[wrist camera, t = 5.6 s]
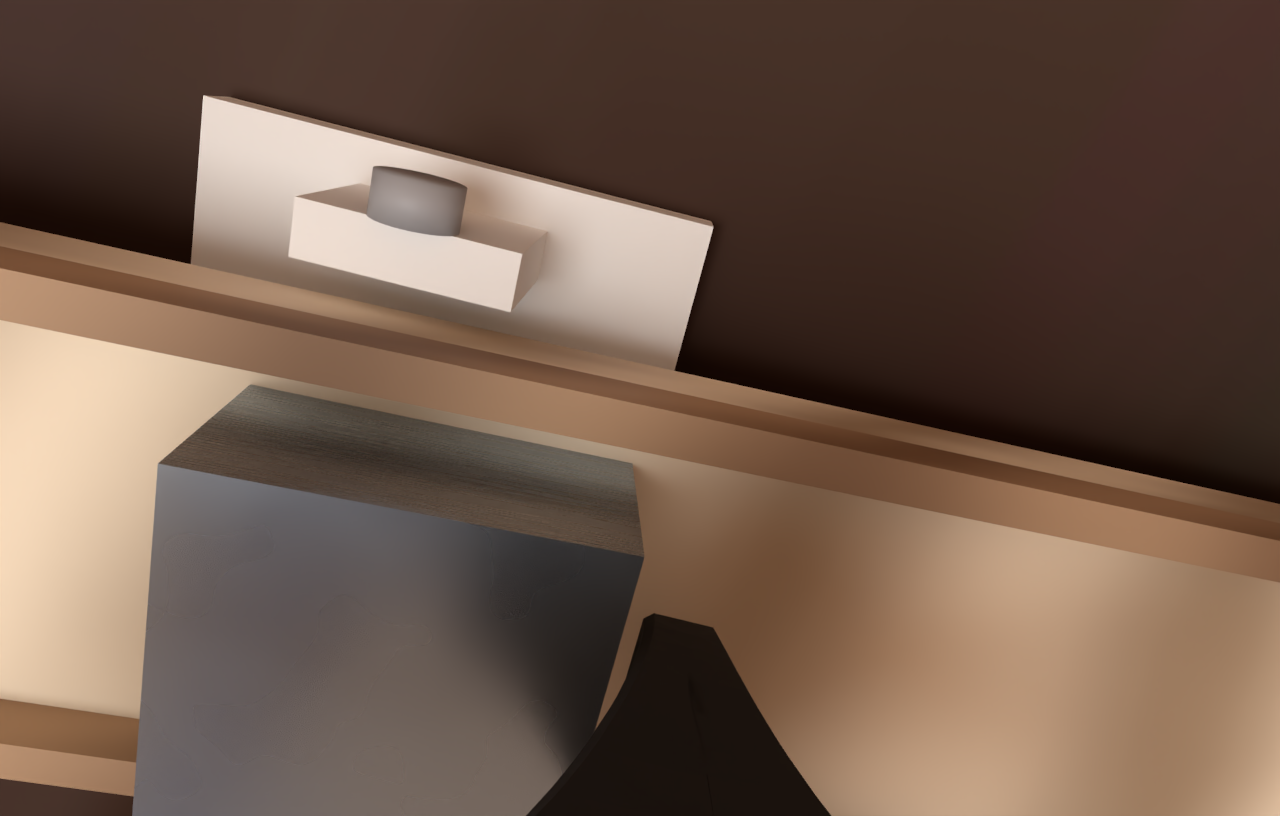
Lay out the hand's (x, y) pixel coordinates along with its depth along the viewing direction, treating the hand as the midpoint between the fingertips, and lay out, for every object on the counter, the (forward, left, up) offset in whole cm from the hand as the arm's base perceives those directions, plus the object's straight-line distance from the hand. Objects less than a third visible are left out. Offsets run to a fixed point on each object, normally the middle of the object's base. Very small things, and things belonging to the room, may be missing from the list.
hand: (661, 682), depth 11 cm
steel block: (0, +4, -1) cm, 4 cm away
